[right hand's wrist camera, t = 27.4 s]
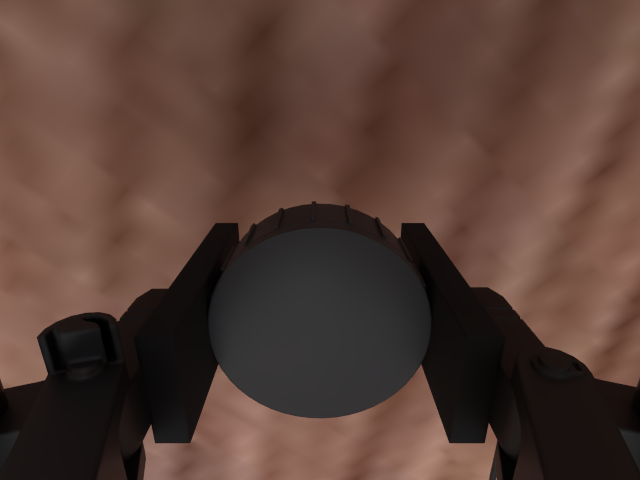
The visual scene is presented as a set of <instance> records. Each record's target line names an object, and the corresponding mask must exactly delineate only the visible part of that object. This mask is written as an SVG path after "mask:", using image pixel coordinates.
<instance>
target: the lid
mask: <svg viewBox="0 0 640 480" xmlns="http://www.w3.org/2000/svg"><path fill="white" fill-rule="evenodd" d="M411 261H412V258H411V256H410V254H409V252H408V250H407V248H406V247H405V245H404V243H403V241H402V239H401V238H398V239H397V238H396V236H395V235H394V234H393V233H392V232H391V231H390V230H389V229H388V228H386V227H385V226H384V225H383V224H381V222H380V219H379V218H377V217H376V218H375V219H374V218H372V217H370V216H369V215H366V214H364V213H362V212H360V211H357V210H354V209H351V208H350V206H349V205H345V207H344V206H338V205H332V204H316V201H313V202H312V204H308V205H301V206H296V207H292V208H288V209H285V210H284V209H283V208H280V209H279V211H278V212H277V213H275V214H273V215H271V216H269V217H267V218H265V219H264V220H263V221H261V222H260V223H258V224H257V225H255V223H254V224H252V225H251V227H250V230H249V232H248V233H247V234H246V235H245V236H244V237H243V238H242V240H241V241H240V242H239V243H238V245H237V246H236V247H235V246H233V247H232V249H231V251H230V253H229V255H228V257H227V258H226V260H225V262H224V264H223V266H222V268H221V270H222V271H223V272H222V274H221V276H220V278H219V280H218V282H217V284H216V286H215V288H214V290H213V292H212V294H211V296H210V298H211V301H210V305H209V309H208V330H209V339H210V344H211V348H212V350H213V353H214V355H215V358H216V360H217V362H218V364H219V365H220V367H221V369H222V370H223V372H224V373H225V374H226V376H227V377H228V378H229V380H230V381H231V382H232V383H233V384H234V385H235V386H236V387H237V388H238V389H240V390H241V391H242V392H243V393H245V394H246V395H247V396H248V397H250V398H252V399H253V400H255V401H257V402H258V403H260V404H262V405H264V406H266V407H268V408H270V409H273V410H276V411H279V412H282V413H285V414H289V415H294V416H299V417H307V418H332V417H340V416H346V415H351V414H354V413H358V412H361V411H364V410H366V409H369V408H371V407H374V406H376V405H377V404H379V403H381V402H383V401H385V400H386V399H388V398H389V397H391V396H392V395H394V394H395V393H396V392H398V391H399V390H400V389H401V388H402V387H403V386H404V385H405V384H406V383H407V382H408V381H409V380H410V379H411V378H412V377H413V375H414V374H415V372H416V371H417V369H418V368H419V367H420V365H421V363H422V361H423V359H424V357H425V355H426V352H427V349H428V346H429V343H430V336H431V328H432V313H431V307H430V302H429V299H428V296H427V292H426V290H425V289H427V286H426V284H425V282H424V280H423V278H422V276H421V274H420V272H419V270H418V268H417V267H416V265H415V263H412V262H411Z"/></svg>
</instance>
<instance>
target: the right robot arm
mask: <svg viewBox="0 0 640 480" xmlns="http://www.w3.org/2000/svg"><path fill="white" fill-rule="evenodd" d="M401 239H402V241H403V243H404V245H405V247H406V248H407V250H408V252H409V254H410V256H411V258H412V261H411V262H412V263H415V265H416V267H417V268H418V270H419V272H420V274H421V276H422V278H423V280H424V282H425V284H426V286H427V289H425V290H426V292H427V296H428V299H429V302H430V307H431V313H432V328H431V336H430V343H429V346H428V349H427V352H426V355H425V357H424V359H423V361H422V363H421V364H422V367H423V370H424V373H425V376H426V378H427V381H428V384H429V387H430V390H431V392H432V395H433V398H434V401H435V404H436V407H437V409H438V412H439V415H440V418H441V421H442V423H443V426H444V429H445V432H446V435H447V437H448V440H449V443H485V438H486V433H487V429H488V424H490V426H491V428H492V430H493V432H494V434H495V436H496V438H497V440H498V441H497V445H496V450H495V454H494V459H493V463H492V468H491V473H490V478H489V480H496V477H497V480H640V379H639V382H638V385H637V387H633V386H628V385H623V384H618V383H613V382H608V381H603V380H599V379H595V378H594V377H593V375H592V373H591V372H590V371H589V369H588V368H587V367H586V366H585V364H583V363H582V362H580V361H579V360H578V359H576V358H575V357H573V356H571V355H569V354H567V353H564V352H562V351H560V350H556V349H552V348H548V347H545V346H544V345H543V344H542V342H541V341H540V340H539V339H538V338H537V336H536V335H535V334H534V333H533V332H532V331H531V329H530V328H529V327H528V326H527V325H526V323H525V322H524V321H523V320H522V319H520V316H519V315H518V314H517V313H516V311H515V310H512V307H511V306H510V304H509V303H508V302H507V301H506V300H505V298H504V297H503V296H501V295H499V294H498V293H496V292H494V291H493V290H491V289H490V288H488V287H470V286H469V285H468V284H467V282H466V281H465V279H464V278H463V277H462V275H461V274H460V272H459V271H458V270H457V268H456V267H455V266H454V264H453V263H452V261H451V260H450V259H449V257H448V256H447V254H446V253H445V252H444V250H443V249H442V248H441V246H440V245H439V243H438V242H437V241H436V239H435V238H434V236H433V235H432V234H431V232H430V231H429V229H428V228H427V227H426V225H425V224H424V223H402V228H401ZM238 243H239V231H238V223H216V224H215V225H214V226H213V228H212V229H211V230H210V232H209V233H208V235H207V236H206V237H205V239H204V240H203V242H202V243H201V244H200V246H199V247H198V249H197V250H196V251H195V253H194V254H193V255H192V257H191V258H190V260H189V261H188V262H187V264H186V265H185V267H184V268H183V269H182V271H181V272H180V273H179V275H178V276H177V278H176V279H175V280H174V282H173V283H172V285H171V286H170V287H169V289H151V290H149V291H148V292H146V293H144V294H143V295H141V296H140V297H138V298H137V299H136V300H135V301H134V302H133V303H132V305H131V306H130V307H129V308H128V311H126V312H125V313H124V314H123V315H122V317H121V318H120V321H117V322H116V319H115V318H114V317H113V316H111V315H110V314H105V313H100V312H95V313H83V314H79V315H74V316H70V317H68V318H65V319H63V320H60V321H57V322H56V323H54V324H52V325H51V326H49V327H47V328H46V329H44V330H43V331H42V332H41V333H40V335H39V336H38V337H37V339H38V343H39V346H40V349H41V352H42V355H43V359H44V362H45V365H46V368H47V372H48V376H47V378H46V380H44V381H40V382H36V383H31V384H26V385H21V386H16V387H12V388H7V389H4V388H3V386H2V383H1V380H0V480H143V477H144V469H145V461H146V457H145V450H144V445H143V439H144V437H145V435H146V433H147V431H148V429H149V427H150V425H152V430H153V435H154V440H155V443H190V442H191V440H192V437H193V434H194V431H195V428H196V425H197V423H198V420H199V417H200V414H201V411H202V409H203V406H204V403H205V400H206V397H207V395H208V392H209V389H210V386H211V383H212V380H213V378H214V375H215V372H216V369H217V366H218V362H217V360H216V358H215V355H214V353H213V350H212V348H211V344H210V339H209V330H208V309H209V305H210V301H211V298H210V296H211V294H212V292H213V290H214V288H215V286H216V284H217V282H218V280H219V278H220V276H221V274H222V272H223V271H222V270H221V268H222V266H223V264H224V262H225V260H226V258H227V257H228V255H229V253H230V251H231V249H232V247H233V246H235V247H236V246H237V245H238Z"/></svg>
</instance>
